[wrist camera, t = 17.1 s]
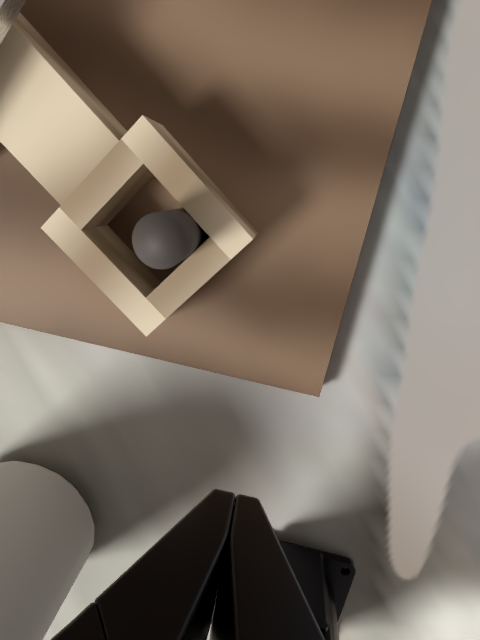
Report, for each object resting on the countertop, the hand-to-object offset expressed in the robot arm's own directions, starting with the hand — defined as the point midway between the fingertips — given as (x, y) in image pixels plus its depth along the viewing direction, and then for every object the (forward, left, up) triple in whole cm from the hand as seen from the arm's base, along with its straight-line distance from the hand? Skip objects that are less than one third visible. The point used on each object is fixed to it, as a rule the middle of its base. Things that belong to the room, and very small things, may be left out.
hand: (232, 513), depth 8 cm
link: (+6, +10, -12) cm, 17 cm away
